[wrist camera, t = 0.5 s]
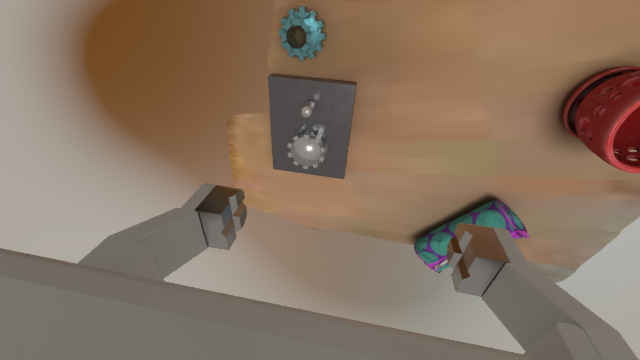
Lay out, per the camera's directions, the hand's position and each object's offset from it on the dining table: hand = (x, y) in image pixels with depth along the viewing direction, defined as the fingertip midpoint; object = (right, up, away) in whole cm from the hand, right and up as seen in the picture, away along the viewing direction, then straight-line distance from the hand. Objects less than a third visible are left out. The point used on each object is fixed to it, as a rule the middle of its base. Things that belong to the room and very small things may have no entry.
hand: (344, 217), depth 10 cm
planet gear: (-4, +26, +35) cm, 44 cm away
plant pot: (+45, +14, +33) cm, 58 cm away
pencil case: (+32, -9, +51) cm, 61 cm away
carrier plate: (-3, +12, +44) cm, 46 cm away
